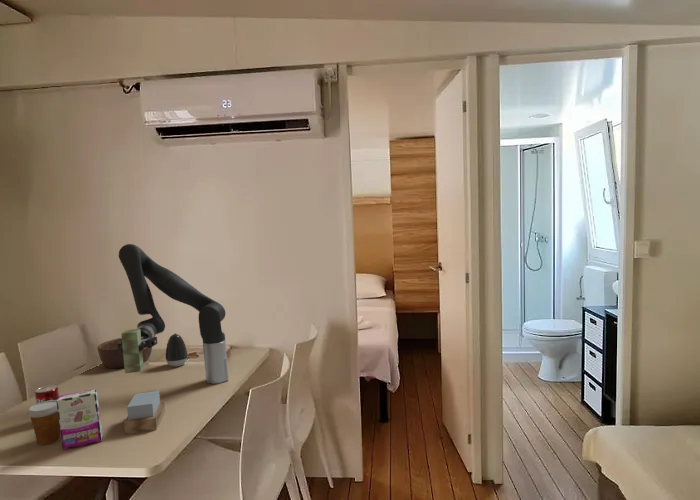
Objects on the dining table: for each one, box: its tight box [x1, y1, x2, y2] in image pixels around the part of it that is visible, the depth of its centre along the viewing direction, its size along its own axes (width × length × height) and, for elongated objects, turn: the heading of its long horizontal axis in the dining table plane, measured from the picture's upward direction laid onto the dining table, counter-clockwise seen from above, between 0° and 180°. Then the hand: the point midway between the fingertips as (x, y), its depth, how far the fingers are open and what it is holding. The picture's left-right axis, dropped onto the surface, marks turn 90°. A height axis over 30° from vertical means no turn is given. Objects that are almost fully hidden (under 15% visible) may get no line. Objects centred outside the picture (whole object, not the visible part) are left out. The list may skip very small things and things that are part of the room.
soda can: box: [34, 384, 60, 404], centre depth 174 cm, size 7×7×12 cm
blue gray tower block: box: [126, 390, 161, 420], centre depth 167 cm, size 8×12×4 cm, turn 11°
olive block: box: [121, 328, 144, 374], centre depth 168 cm, size 5×5×14 cm
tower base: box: [123, 400, 166, 435], centre depth 168 cm, size 10×15×4 cm, turn 11°
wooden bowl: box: [96, 337, 153, 369], centre depth 241 cm, size 25×25×10 cm
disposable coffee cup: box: [27, 400, 61, 446], centre depth 158 cm, size 10×10×12 cm
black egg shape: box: [164, 333, 189, 368], centre depth 230 cm, size 10×10×15 cm
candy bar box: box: [56, 388, 104, 451], centre depth 154 cm, size 11×5×16 cm, turn 114°
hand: (131, 349), depth 166 cm, fingers closed on olive block, 5 cm apart
